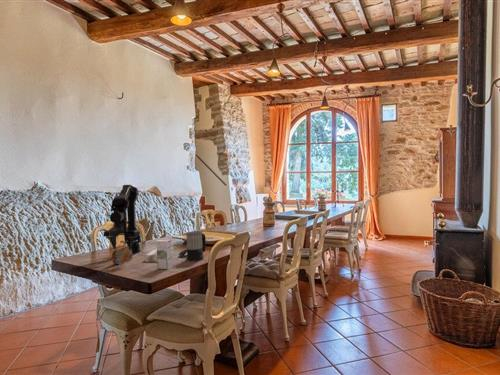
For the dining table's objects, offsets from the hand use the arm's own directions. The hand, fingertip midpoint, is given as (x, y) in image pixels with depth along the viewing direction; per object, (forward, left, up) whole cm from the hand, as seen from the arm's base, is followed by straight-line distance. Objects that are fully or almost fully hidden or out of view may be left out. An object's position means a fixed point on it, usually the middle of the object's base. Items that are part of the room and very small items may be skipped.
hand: (122, 249), depth 190 cm
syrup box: (+29, -8, -8) cm, 31 cm away
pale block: (+15, +14, -8) cm, 22 cm away
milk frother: (+34, +14, -8) cm, 37 cm away
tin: (0, 0, -8) cm, 8 cm away
